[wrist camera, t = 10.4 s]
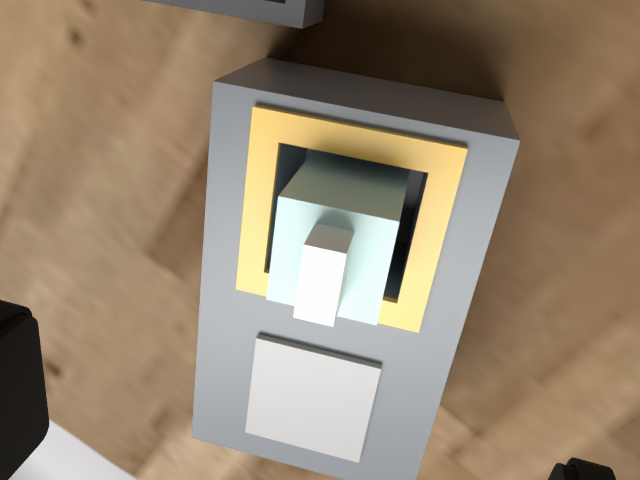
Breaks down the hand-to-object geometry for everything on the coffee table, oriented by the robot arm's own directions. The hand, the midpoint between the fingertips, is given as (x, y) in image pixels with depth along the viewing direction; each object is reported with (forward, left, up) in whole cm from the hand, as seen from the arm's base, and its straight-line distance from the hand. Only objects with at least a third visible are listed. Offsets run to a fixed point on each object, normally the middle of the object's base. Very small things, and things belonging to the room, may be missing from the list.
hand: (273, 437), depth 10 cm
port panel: (+5, -1, -17) cm, 17 cm away
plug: (+1, 0, -16) cm, 16 cm away
